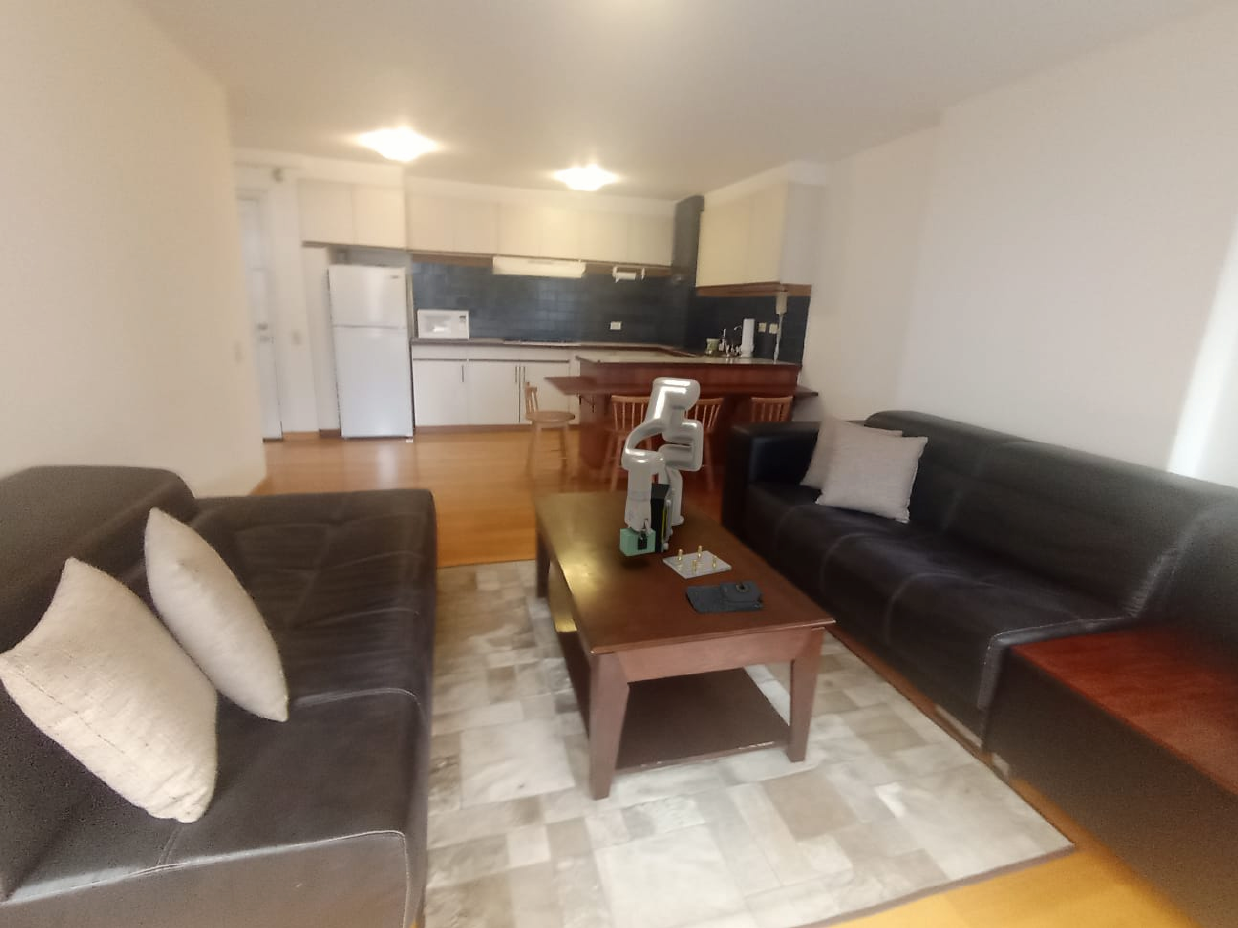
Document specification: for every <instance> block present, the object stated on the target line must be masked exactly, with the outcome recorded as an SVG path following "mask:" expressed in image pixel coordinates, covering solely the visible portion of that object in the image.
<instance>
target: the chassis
mask: <svg viewBox="0 0 1238 928" xmlns="http://www.w3.org/2000/svg"><path fill="white" fill-rule="evenodd" d="M662 561H663V563H664V564H666V565H667V566H668V567H670V568H671V569H673V571H675V572H676V573H677V574H678V575H680V576H681V577H682V578H684V579H690V578H696V577H700V576H705V575H710V574H715V573H721V572H725V571H729V570H732V566H731V565H729V564H728V563H726V562H725V561H724V560H722V559H720V558H719V557H718V556H717V555H715V554H713V553H711V552H710V551H708V550H703V546H702V545H698V551H697V552H692V553H686V554H683V549H681V548H680V549H679V548H678V555H676V556H675V555H674V556H671V557H670V556H669V557H666V558H663V559H662Z"/></svg>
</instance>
